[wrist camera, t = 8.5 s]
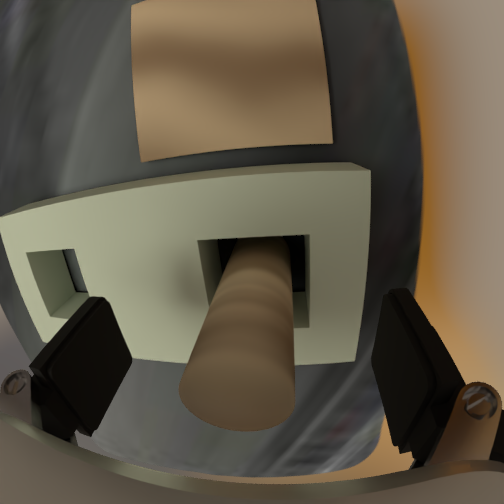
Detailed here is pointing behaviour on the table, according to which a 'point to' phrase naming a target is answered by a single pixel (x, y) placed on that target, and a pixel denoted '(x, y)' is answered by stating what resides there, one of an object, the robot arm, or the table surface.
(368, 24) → the table surface
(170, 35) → the cork mat
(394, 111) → the table surface
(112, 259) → the hole block
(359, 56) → the table surface
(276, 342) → the peg
